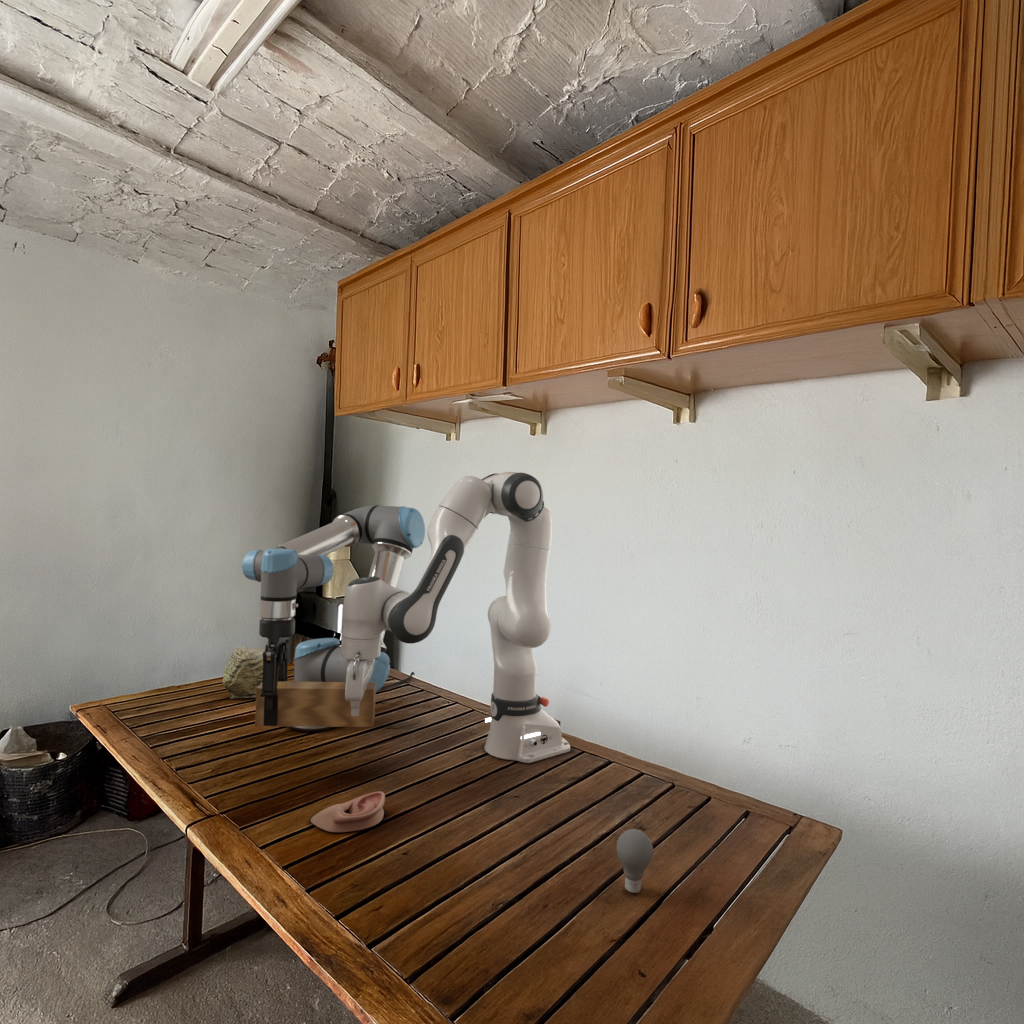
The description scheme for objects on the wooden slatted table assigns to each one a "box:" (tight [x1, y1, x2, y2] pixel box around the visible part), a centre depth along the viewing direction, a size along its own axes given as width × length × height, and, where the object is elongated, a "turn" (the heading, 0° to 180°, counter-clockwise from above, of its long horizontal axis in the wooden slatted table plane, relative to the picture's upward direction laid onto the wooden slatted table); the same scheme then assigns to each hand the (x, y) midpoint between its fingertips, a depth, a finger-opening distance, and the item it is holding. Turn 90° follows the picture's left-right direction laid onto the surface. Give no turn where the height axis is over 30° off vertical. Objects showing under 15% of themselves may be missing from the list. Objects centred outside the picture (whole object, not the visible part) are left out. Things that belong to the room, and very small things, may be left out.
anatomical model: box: [310, 790, 386, 833], centre depth 125 cm, size 13×4×12 cm
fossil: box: [222, 646, 265, 699], centre depth 198 cm, size 9×18×15 cm, turn 132°
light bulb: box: [615, 828, 654, 894], centre depth 106 cm, size 6×6×10 cm
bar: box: [254, 680, 377, 728], centre depth 144 cm, size 26×5×9 cm, turn 96°
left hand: (273, 720), depth 143 cm, fingers closed on bar, 5 cm apart
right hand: (358, 708), depth 145 cm, fingers open, 8 cm apart
